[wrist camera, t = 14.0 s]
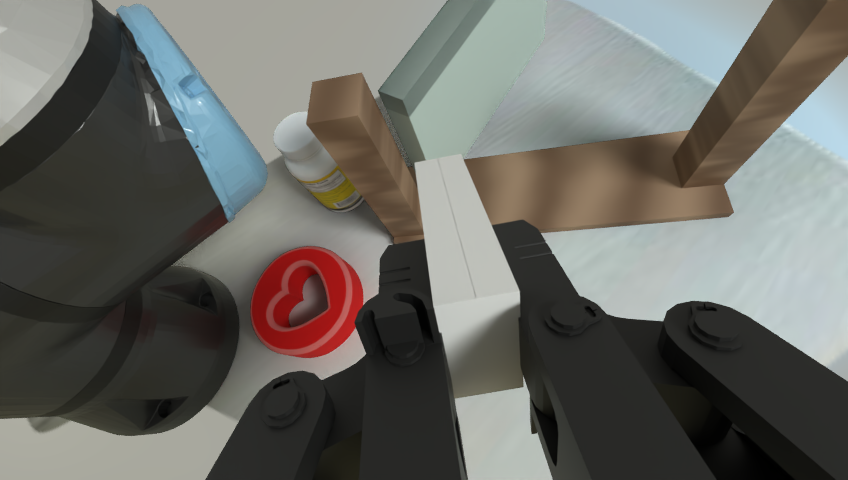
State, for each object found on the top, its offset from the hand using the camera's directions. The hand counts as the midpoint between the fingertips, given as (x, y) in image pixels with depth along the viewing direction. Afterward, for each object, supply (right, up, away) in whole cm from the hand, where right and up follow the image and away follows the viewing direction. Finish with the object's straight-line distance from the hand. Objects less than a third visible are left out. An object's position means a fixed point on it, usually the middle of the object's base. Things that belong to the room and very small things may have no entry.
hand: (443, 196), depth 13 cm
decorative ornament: (-11, -8, +23) cm, 26 cm away
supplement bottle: (-9, +4, +27) cm, 28 cm away
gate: (+5, +11, +24) cm, 27 cm away
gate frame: (+10, +3, +21) cm, 24 cm away
